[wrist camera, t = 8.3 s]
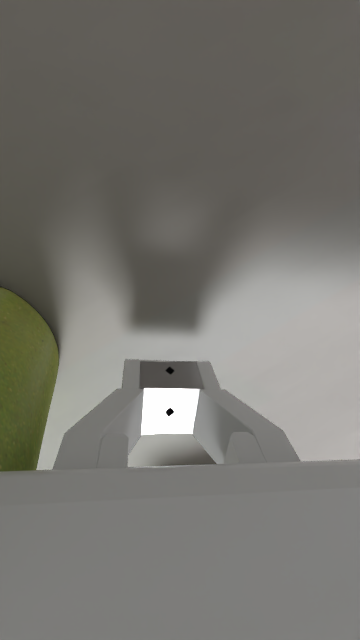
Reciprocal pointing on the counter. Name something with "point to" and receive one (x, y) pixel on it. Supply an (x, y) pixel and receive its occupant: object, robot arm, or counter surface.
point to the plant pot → (24, 381)
